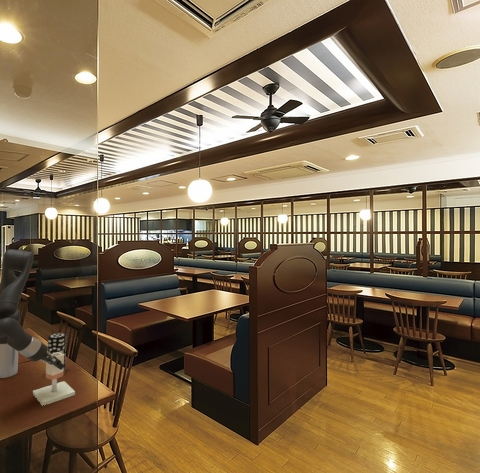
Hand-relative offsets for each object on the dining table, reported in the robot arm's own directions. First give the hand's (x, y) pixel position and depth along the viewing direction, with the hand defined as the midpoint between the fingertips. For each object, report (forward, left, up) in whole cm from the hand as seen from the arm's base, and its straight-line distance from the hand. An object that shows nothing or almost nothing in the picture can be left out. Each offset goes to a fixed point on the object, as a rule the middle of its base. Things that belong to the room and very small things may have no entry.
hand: (58, 366), depth 139 cm
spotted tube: (-22, +6, -13) cm, 26 cm away
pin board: (0, -2, -12) cm, 12 cm away
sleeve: (+1, -2, -4) cm, 5 cm away
